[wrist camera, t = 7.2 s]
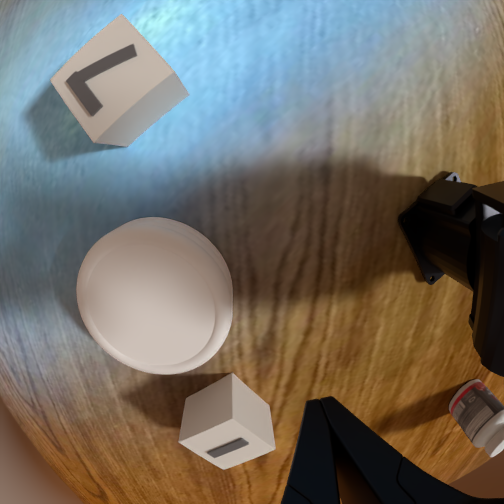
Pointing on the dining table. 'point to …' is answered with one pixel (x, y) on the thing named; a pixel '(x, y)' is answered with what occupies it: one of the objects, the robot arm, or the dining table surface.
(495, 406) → the pill bottle
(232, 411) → the block one
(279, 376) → the dining table surface
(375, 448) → the robot arm
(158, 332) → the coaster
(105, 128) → the block seven
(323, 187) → the dining table surface
